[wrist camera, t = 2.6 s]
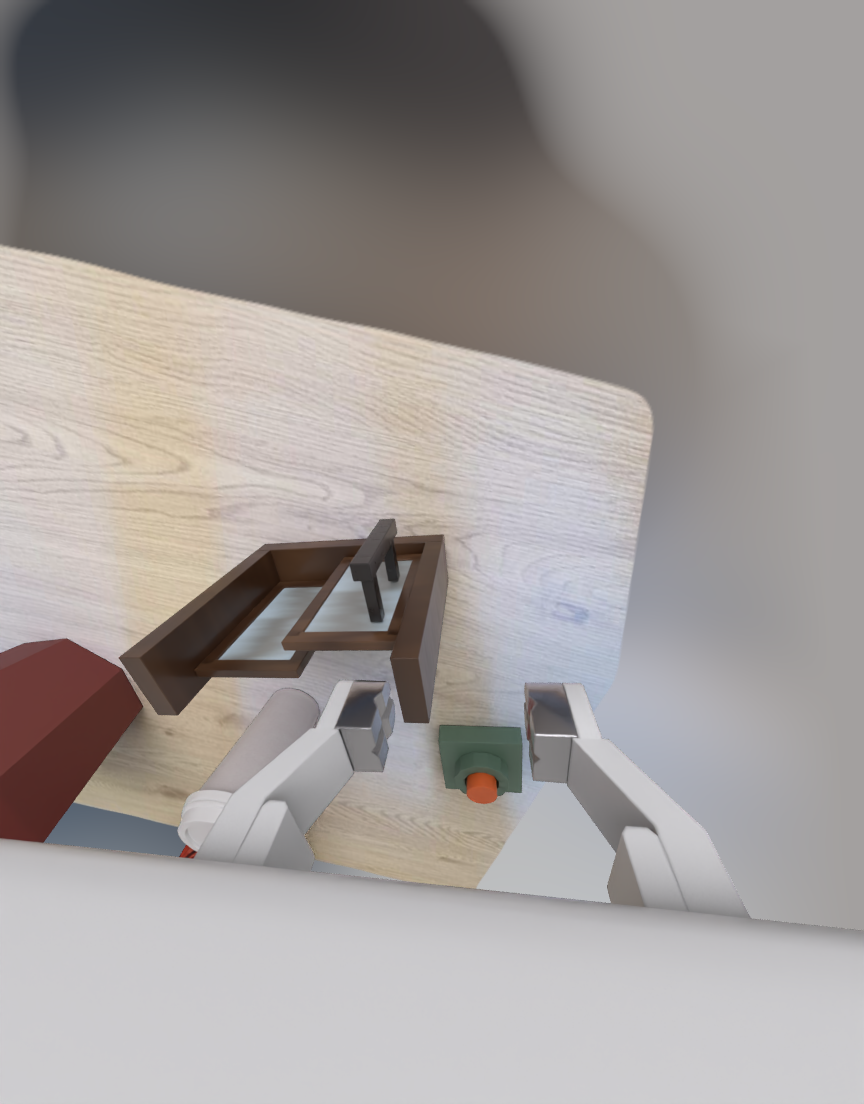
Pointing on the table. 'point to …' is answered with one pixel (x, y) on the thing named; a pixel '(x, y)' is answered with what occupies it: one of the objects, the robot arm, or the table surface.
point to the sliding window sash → (359, 599)
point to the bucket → (55, 730)
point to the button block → (481, 755)
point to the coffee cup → (247, 759)
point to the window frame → (285, 625)
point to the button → (481, 788)
